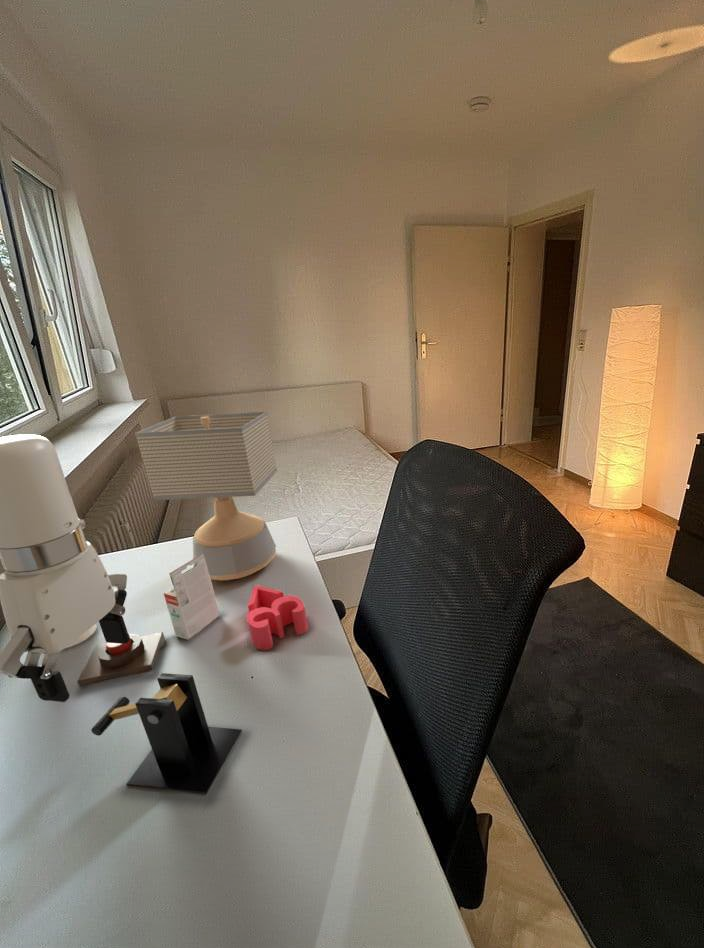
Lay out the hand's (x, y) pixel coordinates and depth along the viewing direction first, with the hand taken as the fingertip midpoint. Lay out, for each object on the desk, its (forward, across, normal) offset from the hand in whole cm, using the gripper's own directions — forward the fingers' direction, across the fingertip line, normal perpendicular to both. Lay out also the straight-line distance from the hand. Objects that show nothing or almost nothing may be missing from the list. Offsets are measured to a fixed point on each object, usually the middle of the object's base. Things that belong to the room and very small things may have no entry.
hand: (89, 668), depth 55 cm
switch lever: (+7, 0, +6) cm, 9 cm away
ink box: (+16, -27, -5) cm, 32 cm away
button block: (+16, -16, -13) cm, 26 cm away
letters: (+15, -29, +9) cm, 34 cm away
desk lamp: (+16, -50, -9) cm, 53 cm away
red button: (+12, -16, -13) cm, 24 cm away
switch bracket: (+15, 0, +10) cm, 18 cm away
